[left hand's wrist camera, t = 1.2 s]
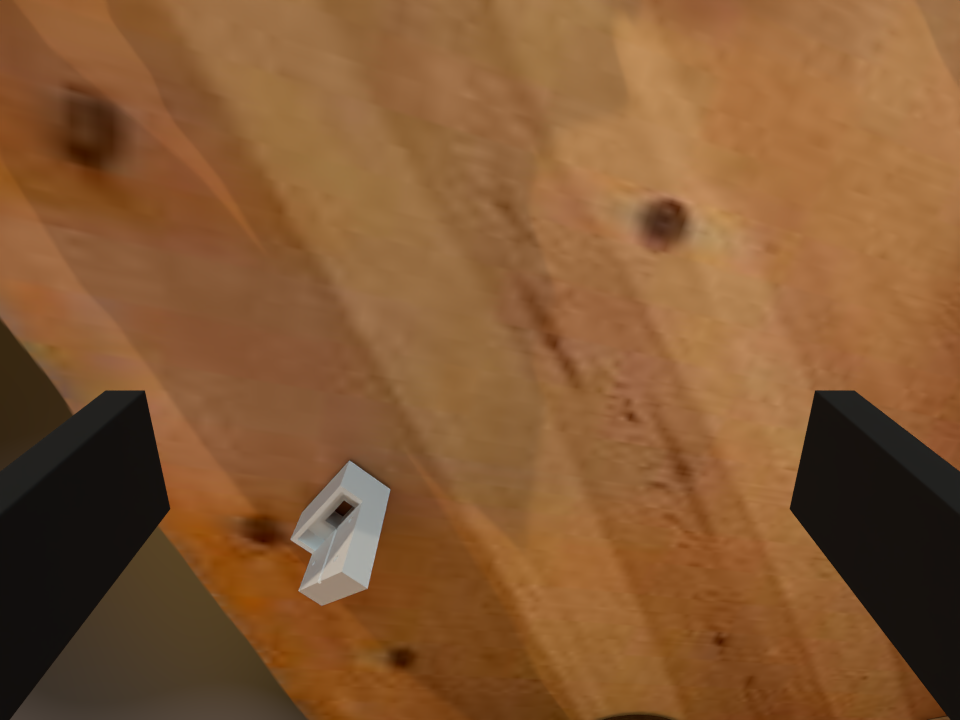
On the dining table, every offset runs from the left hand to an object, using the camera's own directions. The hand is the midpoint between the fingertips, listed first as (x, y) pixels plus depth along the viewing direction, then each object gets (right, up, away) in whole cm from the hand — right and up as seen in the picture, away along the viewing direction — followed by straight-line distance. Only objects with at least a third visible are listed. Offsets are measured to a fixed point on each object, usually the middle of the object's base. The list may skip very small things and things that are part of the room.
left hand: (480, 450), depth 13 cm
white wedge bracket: (-10, -8, +34) cm, 36 cm away
